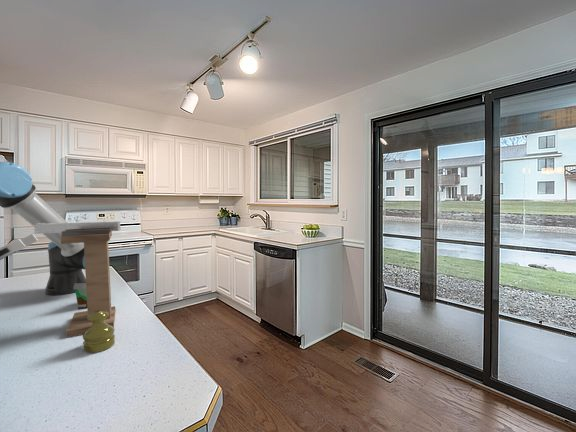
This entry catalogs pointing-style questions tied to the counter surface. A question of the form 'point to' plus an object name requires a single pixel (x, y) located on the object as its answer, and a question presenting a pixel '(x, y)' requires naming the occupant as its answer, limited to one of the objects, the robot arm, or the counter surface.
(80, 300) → the food container
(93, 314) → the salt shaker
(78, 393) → the counter surface
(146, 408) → the counter surface
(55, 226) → the steel bar
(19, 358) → the counter surface
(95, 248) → the walnut shelf
